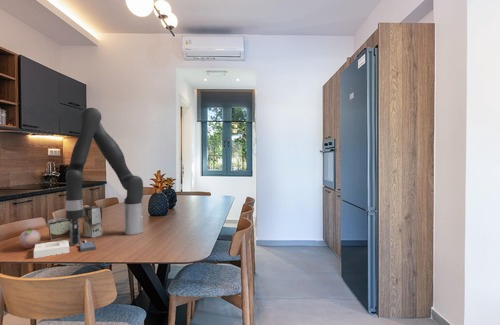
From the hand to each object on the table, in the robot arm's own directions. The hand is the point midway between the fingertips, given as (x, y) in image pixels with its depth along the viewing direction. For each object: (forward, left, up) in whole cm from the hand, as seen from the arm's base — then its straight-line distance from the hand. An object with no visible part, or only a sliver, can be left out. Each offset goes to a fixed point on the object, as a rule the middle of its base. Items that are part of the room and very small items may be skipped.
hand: (75, 242), depth 144 cm
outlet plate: (+9, +8, -1) cm, 12 cm away
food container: (+7, -20, -1) cm, 21 cm away
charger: (0, 0, -1) cm, 1 cm away
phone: (-4, +7, -1) cm, 8 cm away
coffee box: (-9, -12, -1) cm, 15 cm away
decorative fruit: (+18, -4, -1) cm, 19 cm away
